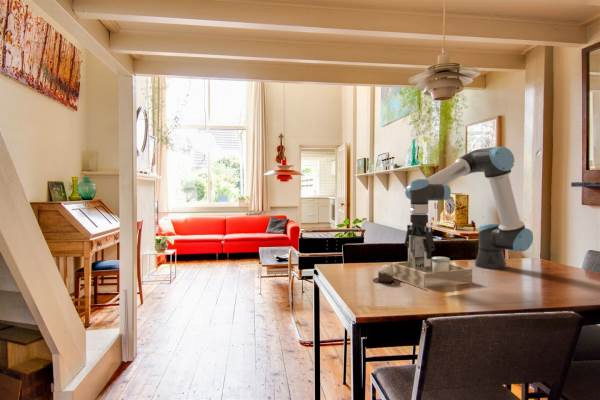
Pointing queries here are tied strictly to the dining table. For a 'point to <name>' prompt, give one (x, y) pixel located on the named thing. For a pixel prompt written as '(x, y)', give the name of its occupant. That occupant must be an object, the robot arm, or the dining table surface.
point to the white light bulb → (440, 264)
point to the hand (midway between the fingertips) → (418, 264)
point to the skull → (386, 276)
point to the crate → (432, 275)
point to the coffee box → (417, 253)
